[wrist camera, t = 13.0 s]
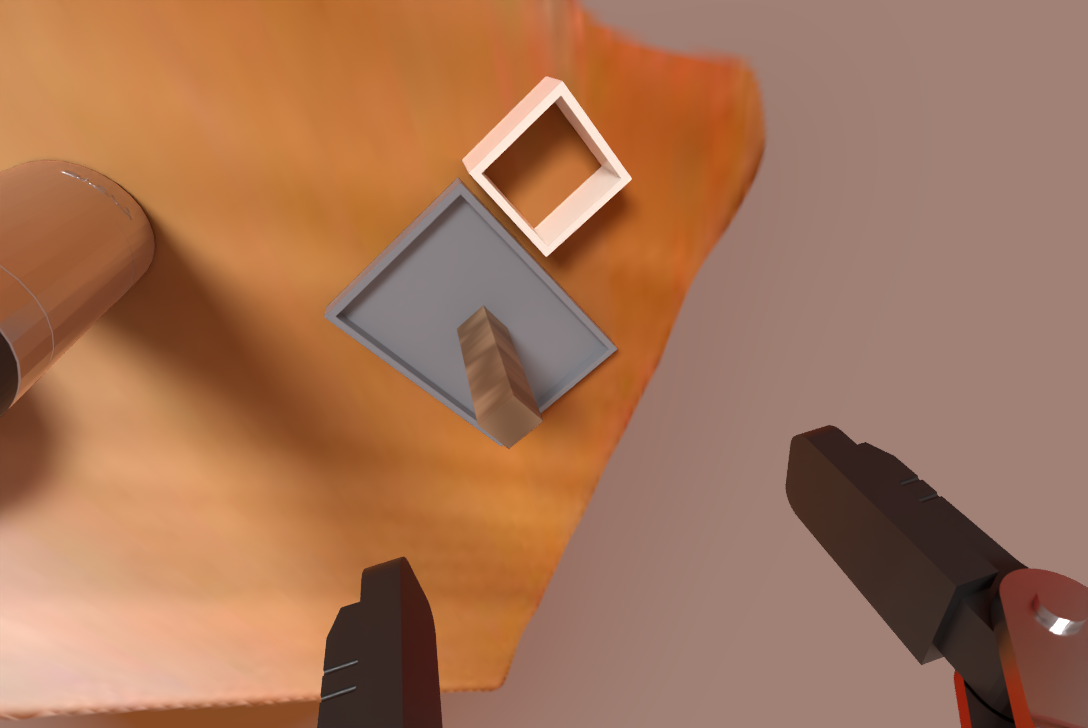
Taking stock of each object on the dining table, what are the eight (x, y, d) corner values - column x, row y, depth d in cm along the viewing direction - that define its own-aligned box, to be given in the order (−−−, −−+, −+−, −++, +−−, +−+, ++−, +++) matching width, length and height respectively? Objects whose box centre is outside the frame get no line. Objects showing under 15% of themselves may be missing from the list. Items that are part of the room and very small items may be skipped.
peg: (481, 350, 49) (508, 449, 38) (456, 328, 47) (477, 425, 36) (507, 327, 48) (543, 421, 37) (483, 305, 47) (513, 395, 35)
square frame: (533, 238, 45) (546, 257, 42) (461, 159, 41) (468, 173, 37) (611, 166, 44) (632, 179, 40) (546, 76, 39) (562, 81, 35)
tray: (498, 435, 56) (501, 446, 54) (326, 307, 44) (324, 316, 43) (611, 339, 53) (617, 349, 51) (458, 177, 41) (460, 182, 40)
